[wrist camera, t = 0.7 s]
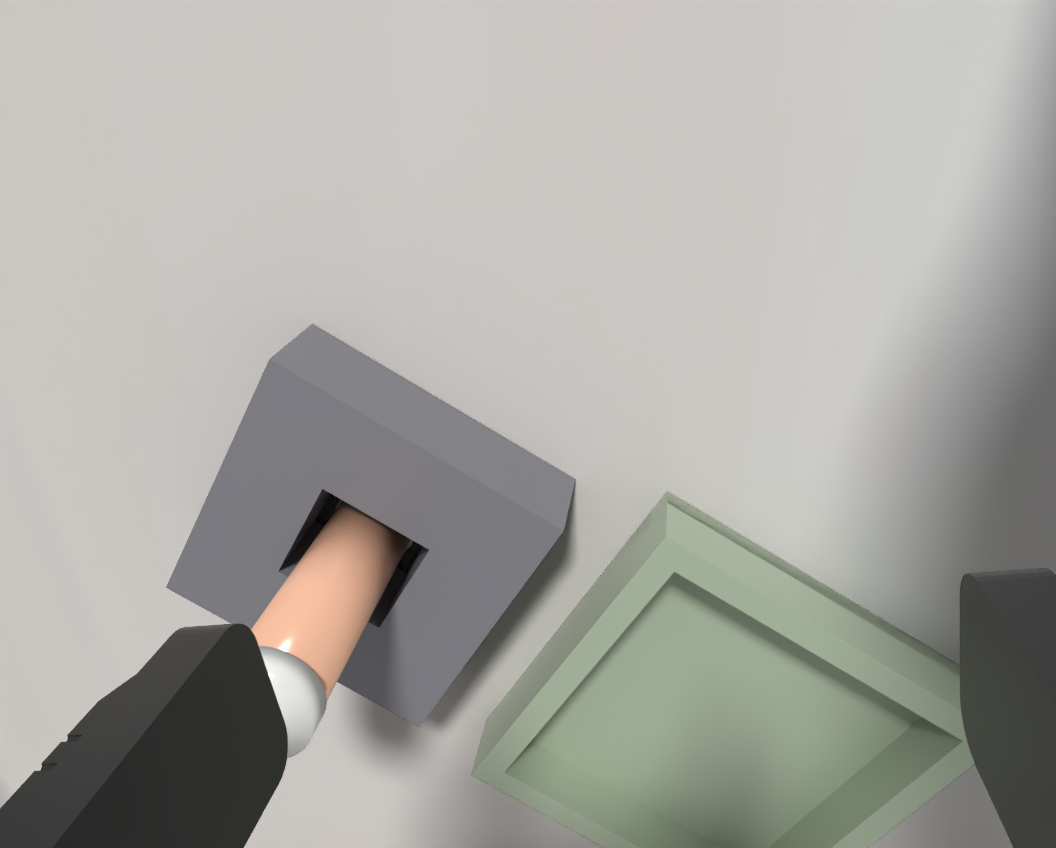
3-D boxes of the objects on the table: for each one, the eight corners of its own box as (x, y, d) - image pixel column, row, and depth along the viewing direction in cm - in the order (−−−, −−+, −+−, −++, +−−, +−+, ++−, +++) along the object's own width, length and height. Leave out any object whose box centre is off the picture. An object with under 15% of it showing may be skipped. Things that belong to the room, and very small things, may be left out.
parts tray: (667, 491, 31) (666, 536, 28) (980, 677, 32) (1007, 738, 29) (486, 720, 37) (470, 775, 34) (753, 869, 38) (759, 933, 35)
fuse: (363, 459, 32) (224, 651, 22) (436, 501, 32) (330, 709, 23) (331, 517, 34) (187, 722, 24) (401, 558, 34) (287, 776, 24)
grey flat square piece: (312, 324, 30) (269, 359, 27) (575, 479, 31) (563, 530, 28) (212, 536, 35) (165, 587, 32) (442, 665, 36) (419, 726, 33)
